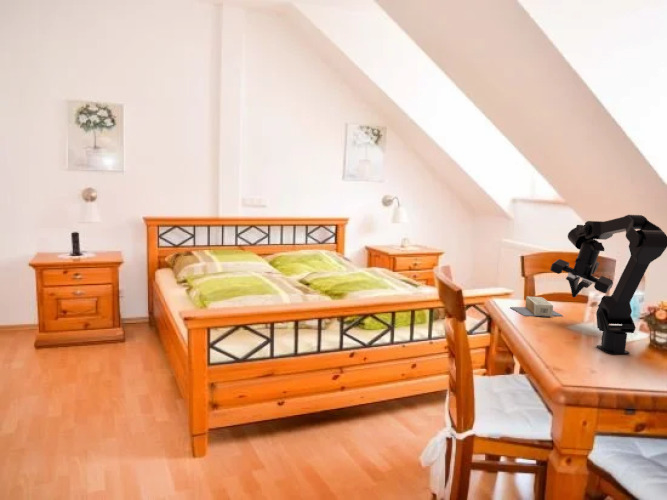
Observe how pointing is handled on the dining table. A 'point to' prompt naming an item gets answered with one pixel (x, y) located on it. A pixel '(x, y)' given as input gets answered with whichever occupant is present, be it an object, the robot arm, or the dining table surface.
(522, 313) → the felt mat
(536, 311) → the skincare box
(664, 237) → the robot arm
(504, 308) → the dining table surface
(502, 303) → the dining table surface
